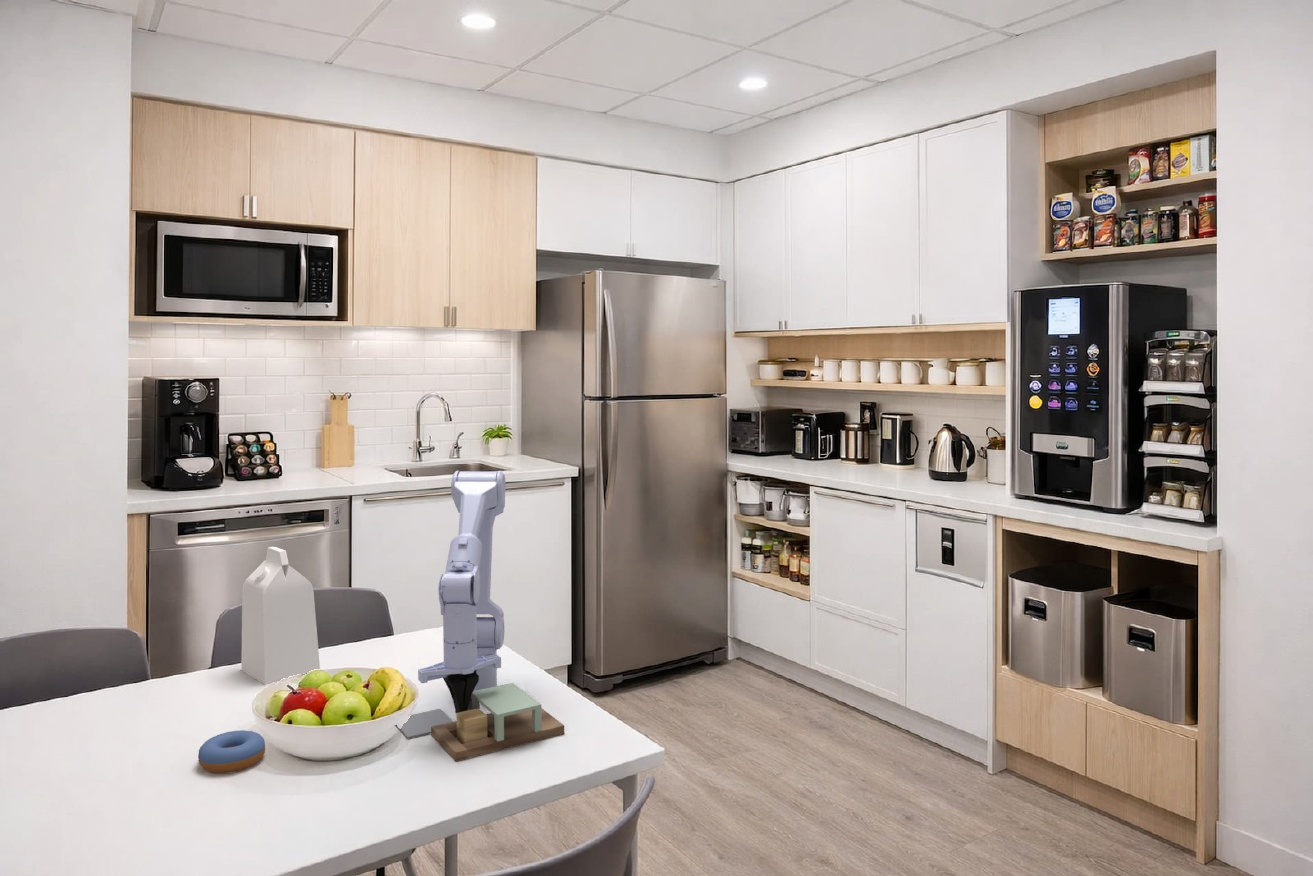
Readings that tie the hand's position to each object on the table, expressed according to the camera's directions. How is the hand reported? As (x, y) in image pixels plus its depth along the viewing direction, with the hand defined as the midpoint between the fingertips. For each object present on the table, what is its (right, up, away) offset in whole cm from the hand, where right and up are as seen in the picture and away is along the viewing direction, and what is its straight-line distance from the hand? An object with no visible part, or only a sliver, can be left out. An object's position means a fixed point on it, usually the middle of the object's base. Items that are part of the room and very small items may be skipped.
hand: (461, 713), depth 155 cm
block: (+3, -4, -4) cm, 6 cm away
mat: (-7, -3, +4) cm, 9 cm away
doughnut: (-35, -5, -11) cm, 37 cm away
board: (+7, -4, 0) cm, 7 cm away
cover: (+7, -2, 0) cm, 8 cm away
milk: (-45, -1, +30) cm, 54 cm away
